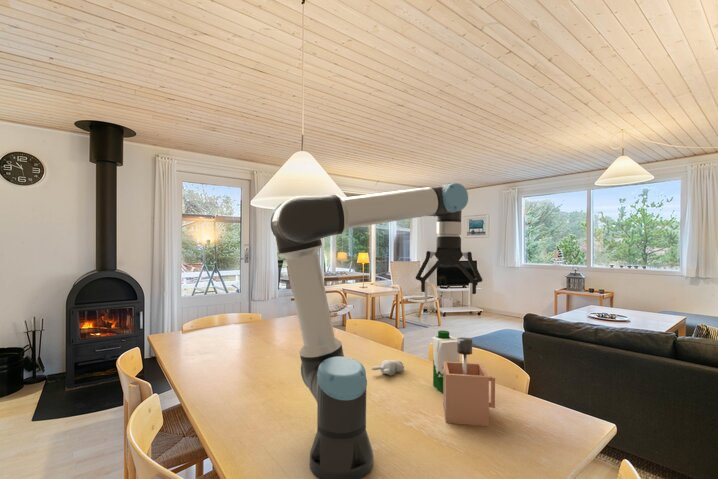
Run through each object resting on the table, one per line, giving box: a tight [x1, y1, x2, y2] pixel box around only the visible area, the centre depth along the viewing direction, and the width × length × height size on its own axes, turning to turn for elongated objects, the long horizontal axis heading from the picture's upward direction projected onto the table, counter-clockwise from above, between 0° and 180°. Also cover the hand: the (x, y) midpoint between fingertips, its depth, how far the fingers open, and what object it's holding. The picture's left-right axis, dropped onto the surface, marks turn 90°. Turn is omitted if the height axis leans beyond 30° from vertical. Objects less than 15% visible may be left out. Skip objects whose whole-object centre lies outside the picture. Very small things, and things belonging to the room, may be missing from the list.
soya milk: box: [431, 330, 461, 394], centre depth 130 cm, size 9×9×20 cm
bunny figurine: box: [371, 359, 405, 377], centre depth 145 cm, size 10×5×15 cm
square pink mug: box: [442, 361, 496, 427], centre depth 110 cm, size 12×15×14 cm
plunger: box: [457, 337, 473, 375], centre depth 110 cm, size 9×9×22 cm
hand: (447, 303), depth 113 cm, fingers open, 13 cm apart
